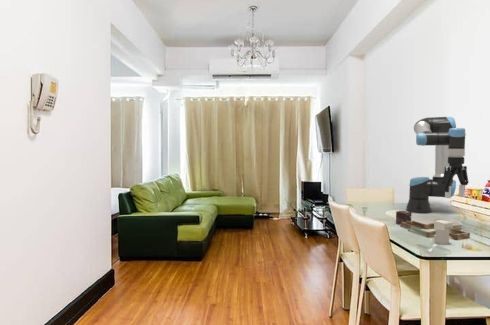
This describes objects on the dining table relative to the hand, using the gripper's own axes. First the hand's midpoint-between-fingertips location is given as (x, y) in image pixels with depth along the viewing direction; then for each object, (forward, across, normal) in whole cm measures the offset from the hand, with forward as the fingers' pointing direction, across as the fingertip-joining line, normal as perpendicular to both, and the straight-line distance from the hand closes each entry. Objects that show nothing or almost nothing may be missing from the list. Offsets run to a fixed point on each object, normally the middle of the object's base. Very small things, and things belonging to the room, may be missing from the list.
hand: (454, 197), depth 172 cm
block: (+18, +8, 0) cm, 20 cm away
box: (+18, +17, -18) cm, 31 cm away
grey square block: (+18, +28, +15) cm, 37 cm away
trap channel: (+18, +14, 0) cm, 23 cm away
